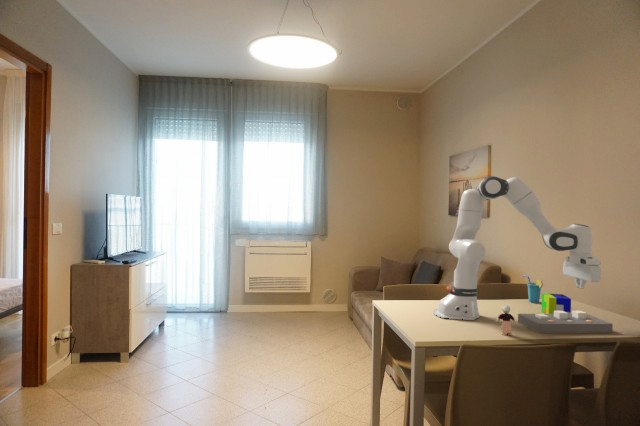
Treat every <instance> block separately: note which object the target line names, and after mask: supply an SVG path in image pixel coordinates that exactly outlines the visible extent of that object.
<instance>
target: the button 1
mask: <svg viewBox="0 0 640 426" xmlns="http://www.w3.org/2000/svg"><path fill="white" fill-rule="evenodd" d="M534 314H535V317H537V318H540V319H549V316H547V315H545V314H544V313H534Z"/></svg>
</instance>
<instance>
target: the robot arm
mask: <svg viewBox="0 0 640 426" xmlns="http://www.w3.org/2000/svg"><path fill="white" fill-rule="evenodd" d="M499 197H503V198H505V199H507V200H508V202H509V203H510V204H511V205H512V206H513V207H514V209H515V210H517V211H518V212H519V213H520V214H521V215H523V217H525V218H527V219H528V220H529V221H530V222H531V223H532V225H533V226H534V227H535V228H536V229H537V231H538V232H539V233H540V234H541V237H542V241H543V243H544V245H545V246H546V247H547V249H551V250H554V251H558V252H565V251H569V256H566V257H565V258H564V261H563V267H562V274H563V276H567V277H571V278H574V279H573V280H574V282H575V284H576V285H575V286H576V288H577V289H579V290H582V289H585V285H586V283H587V282H591V283H599V282H600V281H601V279H602V277H601V275H602V270H601V266H600V265H601V264H602V262H601V261H602V260H600V259H599V258H598V257H596V256H594V255H593V250H592V247H593V231H592V228H591V227H590V226H588V225H585V224H580V223H572V224H570V225H569V226H567V227H564V228H562V229H558V228H556V227H554V226H553V224H551V222H550V221H549V220H548V218H547V217H546V216H545V215H544V213H543V212H542V209H541V208H542V207H541V201H540V199H539V198H538V196H537V194H536V193H535V192H534V191H533V190H532V188H530V186H528V185H527V184H526V183H525V182H524V181H523V180H522V179H520V177H519V178H518V177H517V176H516V177H515V176H513V177H510V178H507V179H503V178H500V177H497V176H493V175H492V176H491V175H490V176H487V177H486V178H483V179H482V180H481V181H480V182H479V184H478V186H477V187H476V188H469V189H466V190H464V191H463V192H462V195H461V198H460V200H459V201H460V202H459V205H458V213H457V215H458V216H457V222H456V228H455V231H454V232H453V233H454V234H453V236H452V239H451V240H450V241H449V244H448V249H449V252H450V254H452V255H453V256H454V257H455V258H457V259H458V260H457V264H456V268H455V269H454V270H453V285H452V287H451V286H446V290H447V291H449V293H448V294H447V295H445V297H443V298H441V299H440V300H439V301H438V304H437V308H436V309H434V308H433V310H432V314H433V315H435V316H436V315H437V316H436V317H438V318H440V317H441V318H440V319H444V318H449V320H462V319H463V320H466V321H475V320H476V319H478V318H480V317H481V315H480V312H479V308H478V295H479V294H478V293H479V292H478V290H479V289H478V273H479V272H478V271H479V268H480V264H481V261H482V260H483V258H484V257H485V255H486V248H485V246H484V245H483V243H481V242H480V241H478V240H477V239H475V238H476V235H477V233H478V231H479V230H480V228H481V225H482V224H481V223H482V217H483V215H482V214H483V207H484V203H485V201H490V200H495V199H497V198H499Z"/></svg>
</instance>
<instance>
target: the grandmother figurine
mask: <svg viewBox="0 0 640 426" xmlns="http://www.w3.org/2000/svg"><path fill="white" fill-rule="evenodd" d="M501 310H502V311H503V313H501V314H499V315H498V317H497V319H496V321H495V322H497V323H499V322H500V320H501V333H500V334H501V335H502V334H503V335H502V336H509V335H512V336H513V333H512V322H513V324H514V325H515V324H517V322H516V319H515V317H514V316H513V315H512V314H511V313H510V312H511V307H510V306H509V305H507V304H505V305H503V306H502V307H501ZM511 321H512V322H511ZM507 334H508V335H507Z"/></svg>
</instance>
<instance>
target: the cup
mask: <svg viewBox="0 0 640 426" xmlns="http://www.w3.org/2000/svg"><path fill="white" fill-rule="evenodd" d="M522 278H527V280H528V282H527V283H526V286H527V294H528V297H527V298H528V302H529V303H530V302H531V304H539V303H540V298H541V289H542V288H543V286H544V284H543V280H541V279H540V278H539V279H538V278H537V279H536V281H535V282H531V280H530V279H531V278H530V276H529V275H527V274H526V275H525V274H524V275H522Z"/></svg>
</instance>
